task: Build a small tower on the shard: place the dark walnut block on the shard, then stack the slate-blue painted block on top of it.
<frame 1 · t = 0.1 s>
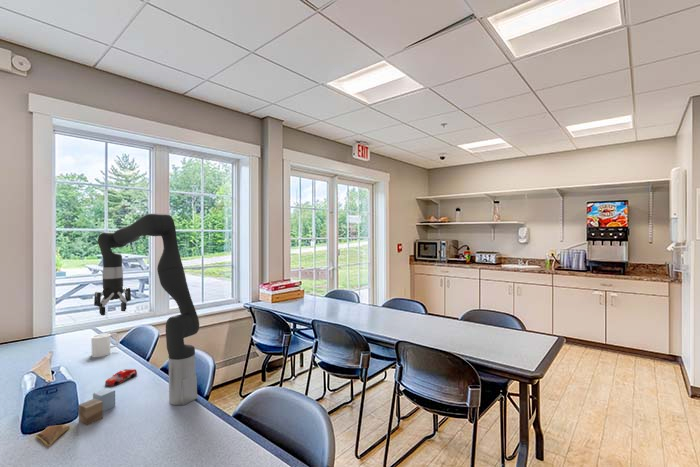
hand: (113, 313, 155), 29 cm above the table, tool pointing down, fingers open, 8 cm apart
slate block: (104, 407, 130), on the table
walnut block: (90, 420, 121), on the table
shard: (56, 437, 112), on the table
cup: (105, 353, 187), on the table
race car: (121, 381, 154), on the table
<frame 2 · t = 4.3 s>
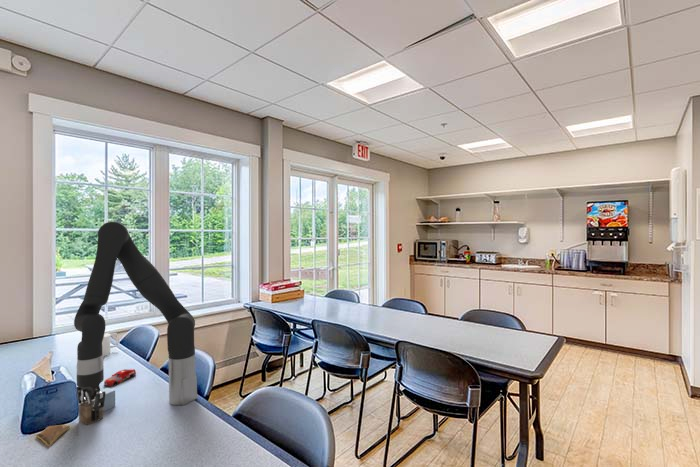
hand: (91, 417, 121), 1 cm above the table, tool pointing down, fingers closed on walnut block, 5 cm apart
walnut block: (91, 419, 121), on the table, touching gripper
when the fingers open (4 cm above the table, at t = 8.7 s): walnut block drops 2 cm, point 1 cm above the table.
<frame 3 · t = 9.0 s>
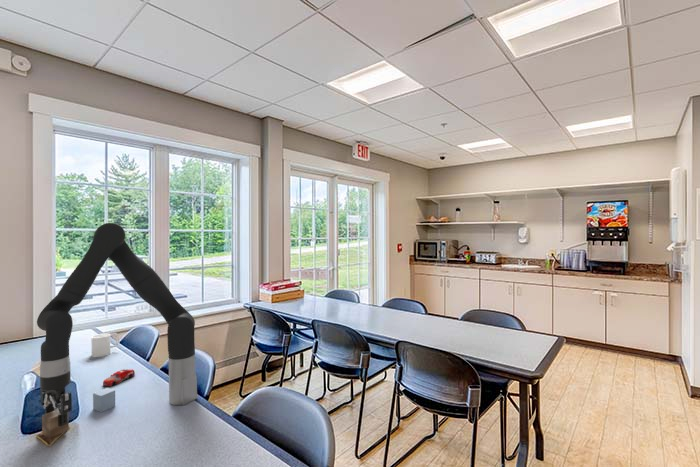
hand: (56, 421, 112), 4 cm above the table, tool pointing down, fingers open, 7 cm apart
walnut block: (55, 431, 112), point 1 cm above the table
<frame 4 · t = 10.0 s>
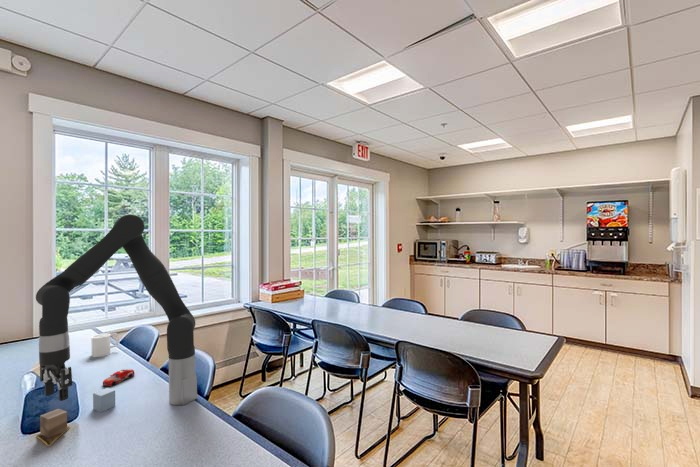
hand: (56, 397, 112), 12 cm above the table, tool pointing down, fingers open, 8 cm apart
nothing on the table moved.
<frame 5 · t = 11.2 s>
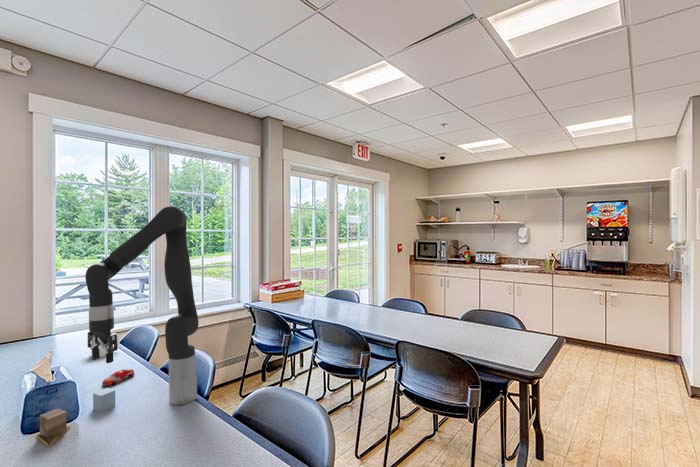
hand: (102, 360, 129), 18 cm above the table, tool pointing down, fingers open, 8 cm apart
walnut block: (53, 432, 112), point 1 cm above the table, touching shard
shard: (56, 437, 112), on the table, touching walnut block
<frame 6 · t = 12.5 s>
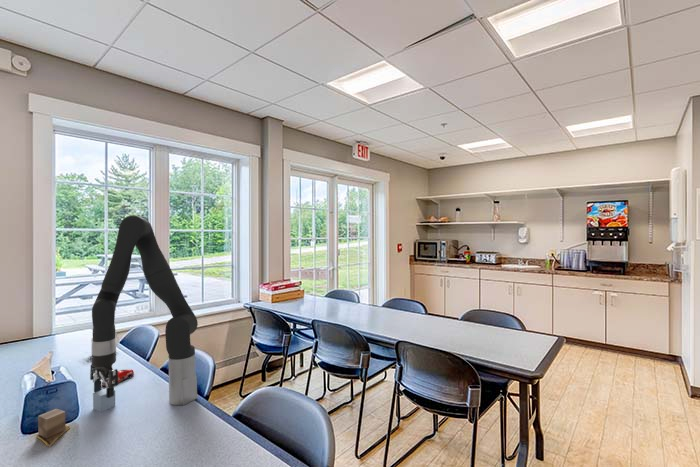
hand: (103, 394, 130), 5 cm above the table, tool pointing down, fingers open, 8 cm apart
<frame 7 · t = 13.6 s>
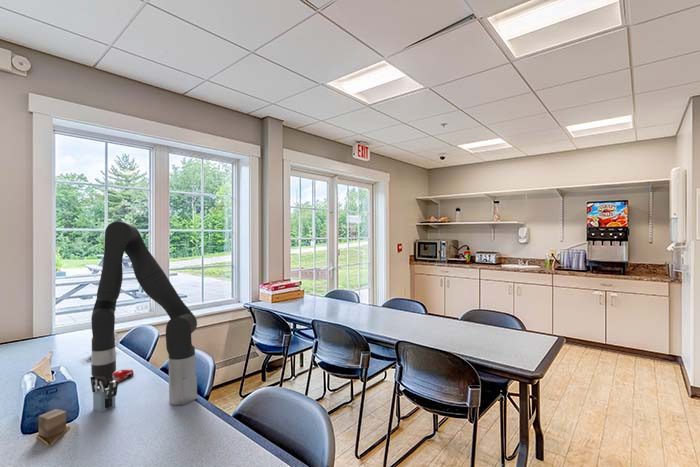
hand: (104, 405, 130), 1 cm above the table, tool pointing down, fingers closed on slate block, 5 cm apart
slate block: (104, 407, 130), on the table, touching gripper
when the fingers open (10 cm above the table, at t = 19.1 s): slate block drops 2 cm, resting on walnut block.
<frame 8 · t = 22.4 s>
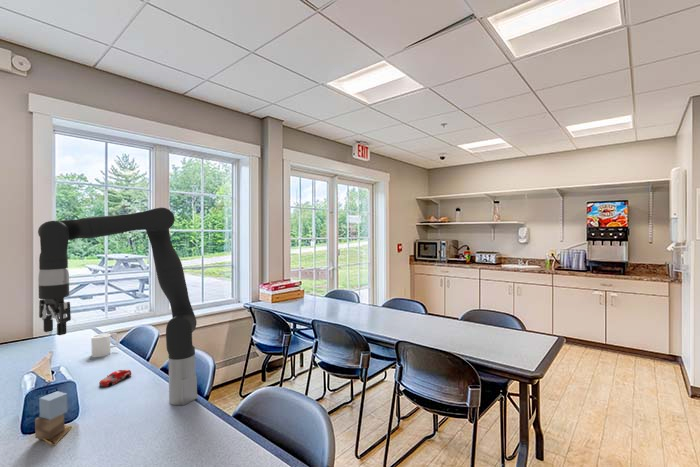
hand: (54, 333, 112), 33 cm above the table, tool pointing down, fingers open, 8 cm apart
slate block: (53, 414, 112), point 7 cm above the table, touching walnut block
walnut block: (50, 433, 111), point 1 cm above the table, touching shard, slate block
at the end: walnut block inside the target area on the shard (2.2 cm from its centre), point 2.0 cm above the shard's base; slate block inside the target area on the shard (1.2 cm from its centre), point 8.0 cm above the shard's base; slate block tilted 1° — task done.
